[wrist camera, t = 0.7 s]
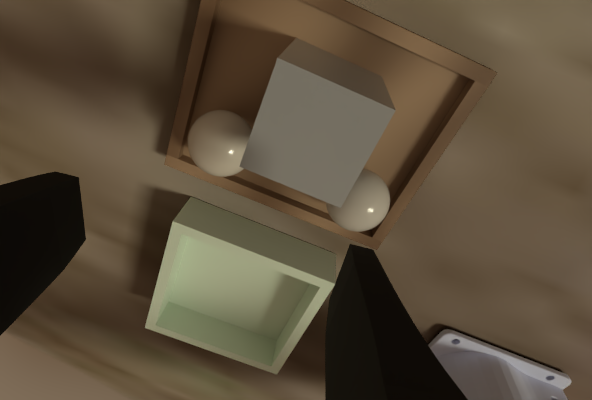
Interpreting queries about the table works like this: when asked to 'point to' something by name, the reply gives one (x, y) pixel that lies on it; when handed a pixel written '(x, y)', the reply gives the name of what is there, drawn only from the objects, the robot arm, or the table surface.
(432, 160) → the brown shallow tray
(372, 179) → the white ball
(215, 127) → the pebble
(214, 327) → the green bin
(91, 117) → the table surface
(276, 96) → the grey block
